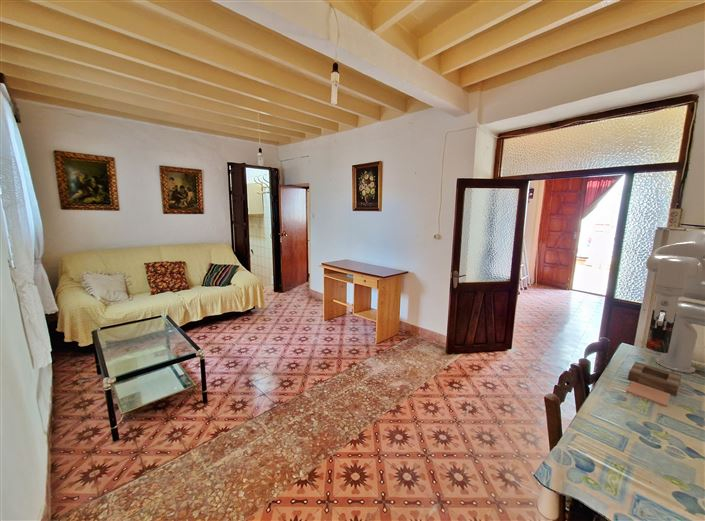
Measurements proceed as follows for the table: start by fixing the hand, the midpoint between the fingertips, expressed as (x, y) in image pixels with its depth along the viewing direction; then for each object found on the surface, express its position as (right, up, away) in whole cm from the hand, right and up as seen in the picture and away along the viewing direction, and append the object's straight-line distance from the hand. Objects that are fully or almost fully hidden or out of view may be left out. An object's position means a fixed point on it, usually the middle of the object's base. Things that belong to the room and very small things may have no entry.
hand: (659, 336), depth 110 cm
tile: (0, -24, +4) cm, 24 cm away
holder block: (+11, -23, +12) cm, 28 cm away
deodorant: (0, -6, +1) cm, 6 cm away
